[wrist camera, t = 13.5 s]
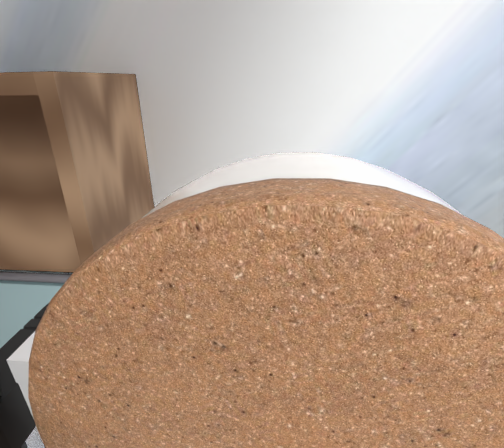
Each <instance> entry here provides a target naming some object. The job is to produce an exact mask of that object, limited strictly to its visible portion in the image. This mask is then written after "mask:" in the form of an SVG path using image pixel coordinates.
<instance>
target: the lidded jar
mask: <svg viewBox="0 0 504 448" xmlns="http://www.w3.org/2000/svg"><path fill="white" fill-rule="evenodd" d="M28 398H29V402H30V406H31V410H32V413H33V417H34V421H35V425H36V427H37V430H38V432H39V434H40V437H41V439H42V441H43V443H44V446H45V448H504V239H503V238H502V237H501V236H499V235H498V234H497V233H495V232H494V231H492V230H490V229H489V228H487V227H485V226H483V225H481V224H479V223H477V222H475V221H473V220H471V219H469V218H467V217H465V216H464V215H462V214H461V213H460V212H458V211H457V210H456V209H454V208H453V207H452V206H450V205H449V204H448V203H446V202H445V201H443V200H442V199H441V198H439V197H438V196H437V195H435V194H434V193H432V192H431V191H429V190H427V189H425V188H423V187H421V186H419V185H417V184H415V183H413V182H411V181H409V180H407V179H405V178H403V177H401V176H399V175H397V174H395V173H393V172H391V171H389V170H387V169H384V168H382V167H379V166H376V165H373V164H369V163H366V162H363V161H360V160H357V159H354V158H350V157H344V156H337V155H330V154H324V153H317V152H292V153H275V154H269V155H263V156H257V157H251V158H247V159H244V160H241V161H238V162H235V163H232V164H229V165H226V166H223V167H220V168H217V169H215V170H213V171H211V172H209V173H207V174H206V175H204V176H202V177H200V178H198V179H196V180H194V181H193V182H191V183H189V184H187V185H185V186H183V187H182V188H180V189H178V190H176V191H175V192H173V193H172V194H171V195H170V196H168V197H167V198H166V199H164V200H163V201H162V202H161V203H159V204H158V205H157V206H156V207H154V208H153V209H152V210H150V211H149V212H148V213H147V214H146V215H144V216H143V217H142V218H141V219H139V220H137V221H135V222H133V223H132V224H130V225H129V226H127V227H126V228H125V229H124V230H122V231H121V232H120V233H119V234H117V235H116V236H115V237H114V238H112V239H111V240H110V241H108V242H107V243H106V244H105V245H103V246H102V247H101V248H100V249H98V250H97V251H96V252H95V253H93V254H92V255H91V256H90V257H89V258H88V259H87V260H85V261H84V262H83V263H82V264H81V265H80V266H79V267H78V268H77V269H76V270H75V271H74V272H73V274H72V275H71V276H70V277H69V278H68V280H67V281H66V282H65V283H64V285H63V286H62V287H61V288H60V289H59V291H58V292H57V293H56V294H55V295H54V297H53V298H52V299H51V300H50V302H49V304H48V306H47V308H46V310H45V312H44V314H43V316H42V318H41V320H40V322H39V324H38V326H37V328H36V330H35V335H34V339H33V344H32V348H31V353H30V357H29V379H28Z"/></svg>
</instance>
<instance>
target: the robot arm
mask: <svg viewBox="0 0 504 448" xmlns="http://www.w3.org/2000/svg"><path fill="white" fill-rule="evenodd" d="M48 304H49V303H48ZM48 304H47V305H46V306H44V307H43V308H42V309H41V310H40V311H39V312H38V313H37V314H36V315H35V316H34V319H31V320H30V321H29V322H28V323H27V324H26V325H24V328H23V329H20V330H19V331H18V332H17V333H16V334H15V335H14V336H13V337H12V338H11V339H10V340H9V341H8V342H7V343H6V344H4V345H3V346H2V347H1V348H0V448H27V444H26V442H25V440H26V439H27V438H28V436H29V435H30V434H31V432H32V431H33V429H34V428H35V427H36V425H35V421H34V417H33V413H32V410H31V406H30V402H29V398H28V379H29V357H30V353H31V348H32V344H33V339H34V335H35V330H36V328H37V326H38V324H39V322H40V320H41V318H42V316H43V314H44V312H45V310H46V308H47V306H48ZM36 429H37V427H36ZM37 432H38V430H37ZM38 434H39V432H38ZM39 436H40V434H39ZM40 439H41V437H40ZM41 441H42V439H41ZM42 442H43V441H42Z"/></svg>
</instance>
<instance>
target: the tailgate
mask: <svg viewBox="0 0 504 448" xmlns="http://www.w3.org/2000/svg"><path fill="white" fill-rule="evenodd" d="M71 275H72V274H49V273H26V272H3V271H0V348H1V347H2V346H3V345H4V344H6V343H7V342H8V341H9V340H10V339H11V338H12V337H13V336H14V335H15V334H16V333H17V332H18V331H19V330H20V329H23V328H24V325H26V324H27V323H28V322H29V321H30V320H31V319H34V316H35V315H36V314H37V313H38V312H39V311H40V310H41V309H42V308H43V307H44V306H46V305H47V304H48V303H49V302H50V300H51V299H52V298H53V297H54V295H55V294H56V293H57V292H58V291H59V289H60V288H61V287H62V286H63V285H64V283H65V282H66V281H67V280H68V278H69V277H70V276H71Z"/></svg>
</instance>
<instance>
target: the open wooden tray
mask: <svg viewBox="0 0 504 448" xmlns="http://www.w3.org/2000/svg"><path fill="white" fill-rule="evenodd" d="M153 208H154V203H153V196H152V189H151V181H150V174H149V167H148V160H147V153H146V146H145V139H144V132H143V124H142V117H141V110H140V103H139V96H138V89H137V82H136V75H135V74H113V73H85V72H56V71H48V72H4V73H0V269H5V270H29V271H52V272H74V271H75V270H76V269H77V268H78V267H79V266H80V265H81V264H82V263H83V262H84V261H85V260H87V259H88V258H89V257H90V256H91V255H92V254H93V253H95V252H96V251H97V250H98V249H100V248H101V247H102V246H103V245H105V244H106V243H107V242H108V241H110V240H111V239H112V238H114V237H115V236H116V235H117V234H119V233H120V232H121V231H122V230H124V229H125V228H126V227H127V226H129V225H130V224H132V223H133V222H135V221H137V220H139V219H141V218H142V217H143V216H144V215H146V214H147V213H148V212H149V211H150V210H152V209H153Z"/></svg>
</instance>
